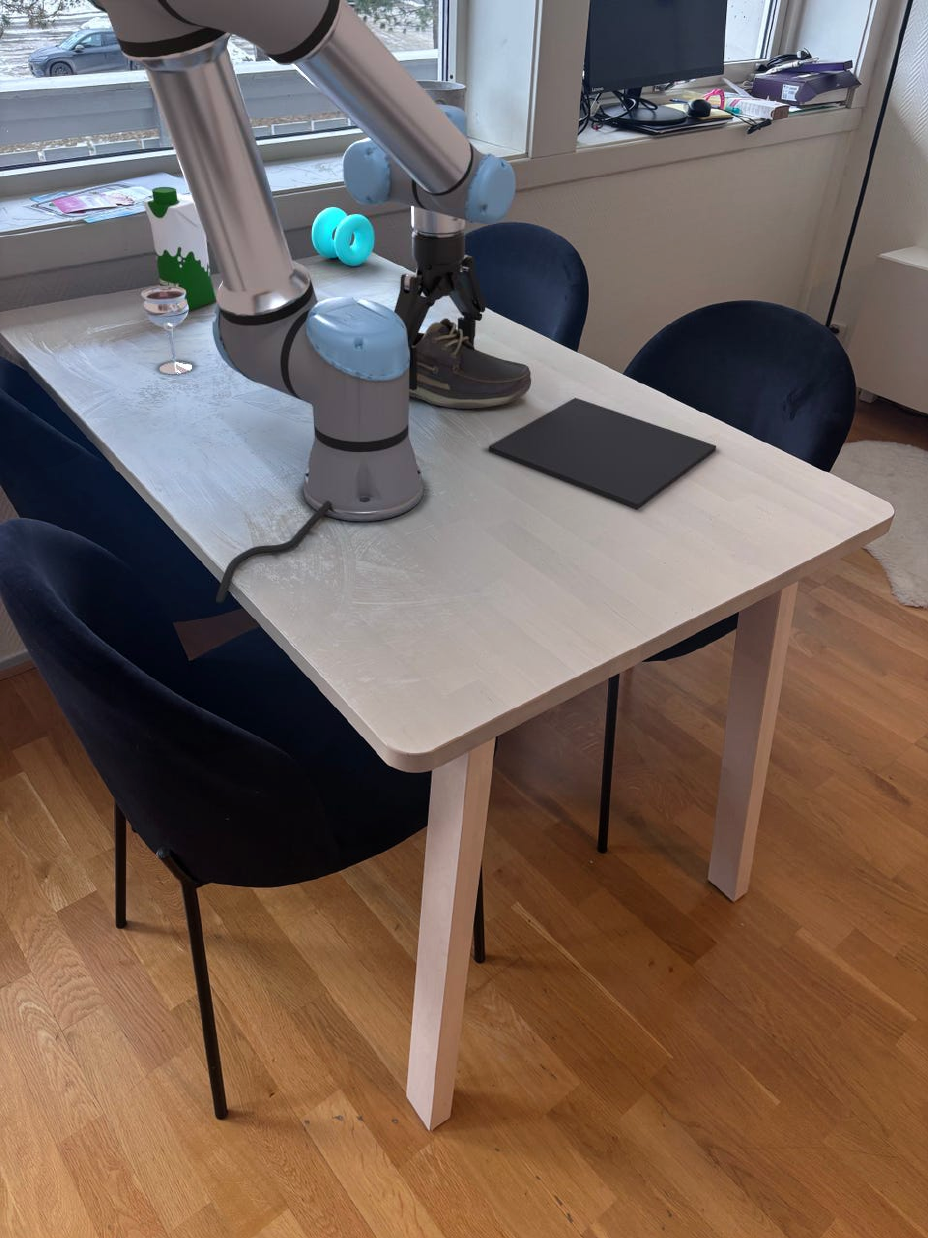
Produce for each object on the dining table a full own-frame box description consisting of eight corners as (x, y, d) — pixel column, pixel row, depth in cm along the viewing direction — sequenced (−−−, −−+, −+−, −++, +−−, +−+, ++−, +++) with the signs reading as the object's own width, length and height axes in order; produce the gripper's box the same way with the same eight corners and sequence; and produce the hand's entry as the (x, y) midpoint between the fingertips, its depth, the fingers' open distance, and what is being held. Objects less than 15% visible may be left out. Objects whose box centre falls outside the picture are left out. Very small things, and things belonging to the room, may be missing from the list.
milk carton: (154, 303, 176) (135, 187, 164) (189, 290, 183) (174, 178, 171) (188, 313, 173) (172, 196, 161) (223, 300, 179) (210, 186, 167)
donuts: (342, 271, 195) (339, 220, 189) (310, 260, 200) (307, 210, 194) (378, 262, 201) (377, 212, 195) (346, 251, 206) (344, 202, 200)
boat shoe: (523, 418, 142) (528, 349, 136) (335, 396, 147) (331, 328, 140) (533, 389, 151) (539, 322, 144) (355, 369, 155) (353, 303, 149)
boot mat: (637, 509, 122) (637, 504, 122) (488, 451, 134) (488, 445, 133) (715, 450, 136) (716, 445, 136) (574, 402, 148) (575, 397, 147)
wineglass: (145, 373, 151) (132, 297, 144) (166, 357, 156) (154, 283, 149) (185, 378, 150) (173, 302, 143) (204, 362, 155) (194, 288, 148)
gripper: (399, 255, 124) (402, 406, 137) (512, 217, 140) (505, 355, 153) (357, 243, 128) (364, 391, 141) (472, 207, 144) (468, 343, 157)
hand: (437, 373), depth 147 cm, fingers open, 13 cm apart
